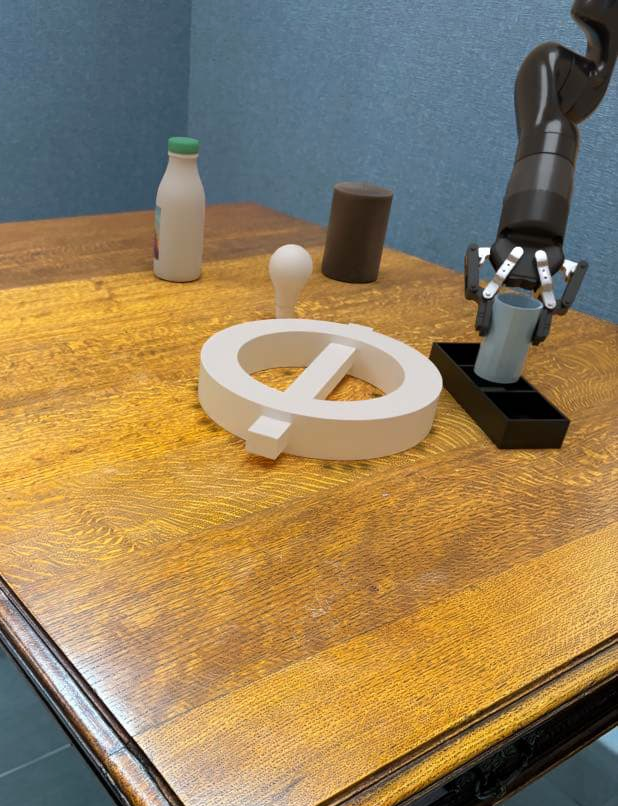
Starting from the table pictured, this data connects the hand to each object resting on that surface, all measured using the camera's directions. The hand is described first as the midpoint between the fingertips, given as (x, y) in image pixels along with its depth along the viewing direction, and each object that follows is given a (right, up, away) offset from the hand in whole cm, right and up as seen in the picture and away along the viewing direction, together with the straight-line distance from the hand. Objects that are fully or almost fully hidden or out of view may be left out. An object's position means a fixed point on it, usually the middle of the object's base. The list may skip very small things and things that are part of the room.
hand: (509, 337), depth 93 cm
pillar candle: (-11, +22, +45) cm, 51 cm away
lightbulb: (-24, +8, +24) cm, 35 cm away
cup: (0, -3, +4) cm, 5 cm away
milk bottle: (-40, +19, +38) cm, 58 cm away
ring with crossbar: (-22, -7, +4) cm, 23 cm away
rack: (0, -6, +7) cm, 9 cm away
